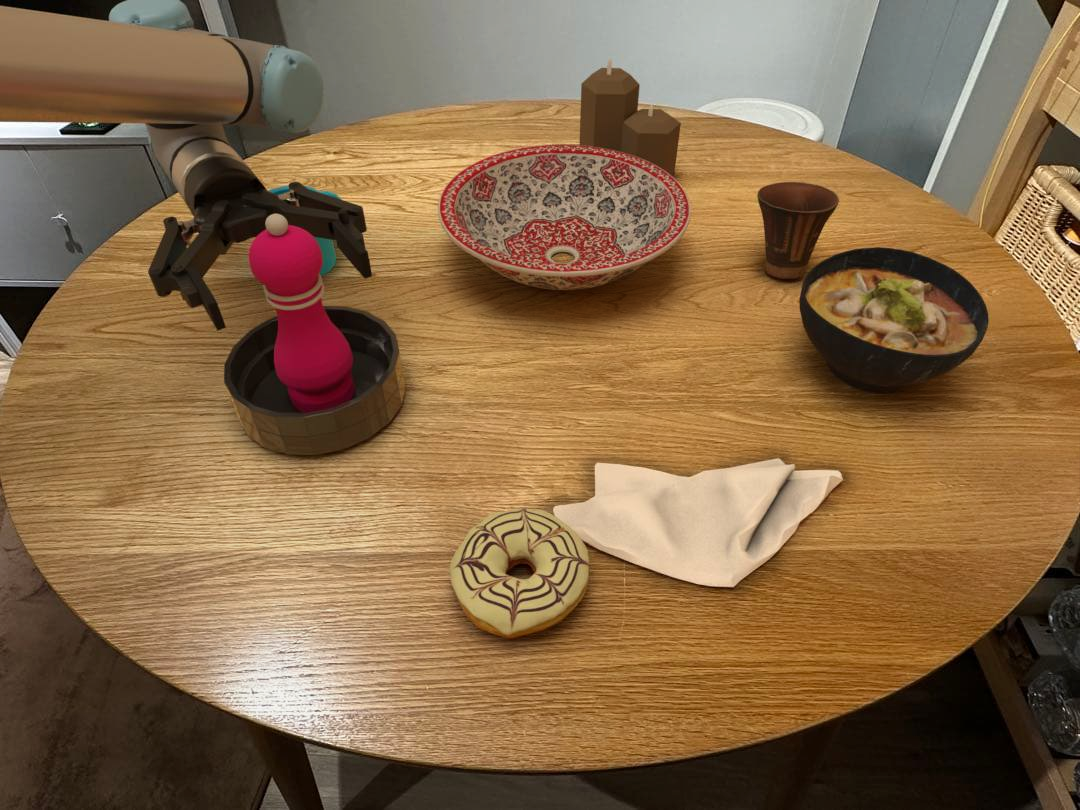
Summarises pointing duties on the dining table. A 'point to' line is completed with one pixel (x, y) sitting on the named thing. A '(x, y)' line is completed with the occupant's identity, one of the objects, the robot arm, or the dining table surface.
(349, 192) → the dining table surface
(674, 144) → the candle
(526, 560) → the decorated donut
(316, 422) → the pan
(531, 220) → the ceramic bowl
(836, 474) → the cloth
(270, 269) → the pepper mill
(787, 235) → the cup
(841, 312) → the bowl
